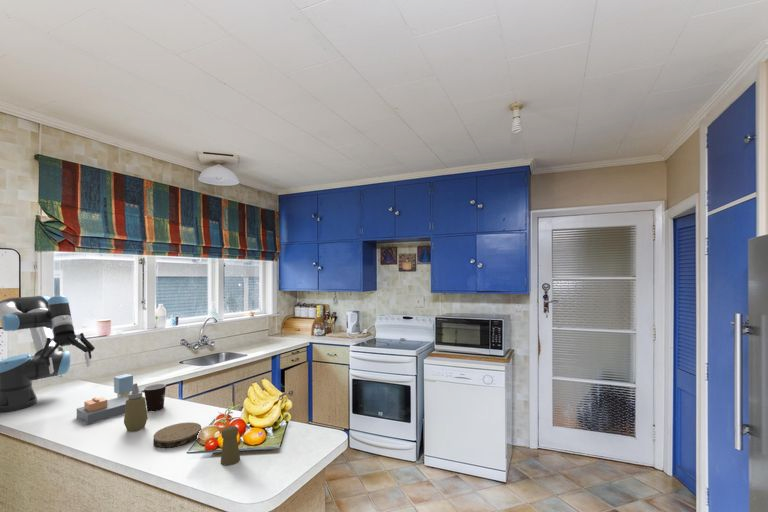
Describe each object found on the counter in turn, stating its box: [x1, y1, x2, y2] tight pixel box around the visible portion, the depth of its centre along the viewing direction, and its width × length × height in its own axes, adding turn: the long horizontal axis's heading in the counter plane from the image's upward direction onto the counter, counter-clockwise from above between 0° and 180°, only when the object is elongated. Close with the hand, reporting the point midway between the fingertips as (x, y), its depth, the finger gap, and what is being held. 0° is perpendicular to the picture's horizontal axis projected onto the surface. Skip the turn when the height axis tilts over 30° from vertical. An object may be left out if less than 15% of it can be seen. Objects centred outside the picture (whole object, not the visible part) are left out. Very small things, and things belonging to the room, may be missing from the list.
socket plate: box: [76, 396, 129, 425], centre depth 172 cm, size 18×13×4 cm
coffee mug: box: [143, 383, 167, 412], centre depth 178 cm, size 12×9×10 cm
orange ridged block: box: [83, 397, 108, 412], centre depth 169 cm, size 6×6×4 cm
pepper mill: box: [220, 425, 241, 467], centre depth 128 cm, size 6×6×11 cm
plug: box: [113, 373, 134, 398], centre depth 190 cm, size 6×6×12 cm
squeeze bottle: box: [123, 382, 148, 433], centre depth 156 cm, size 8×8×18 cm
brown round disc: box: [153, 422, 202, 450], centre depth 146 cm, size 16×16×3 cm
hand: (71, 369), depth 178 cm, fingers open, 13 cm apart
